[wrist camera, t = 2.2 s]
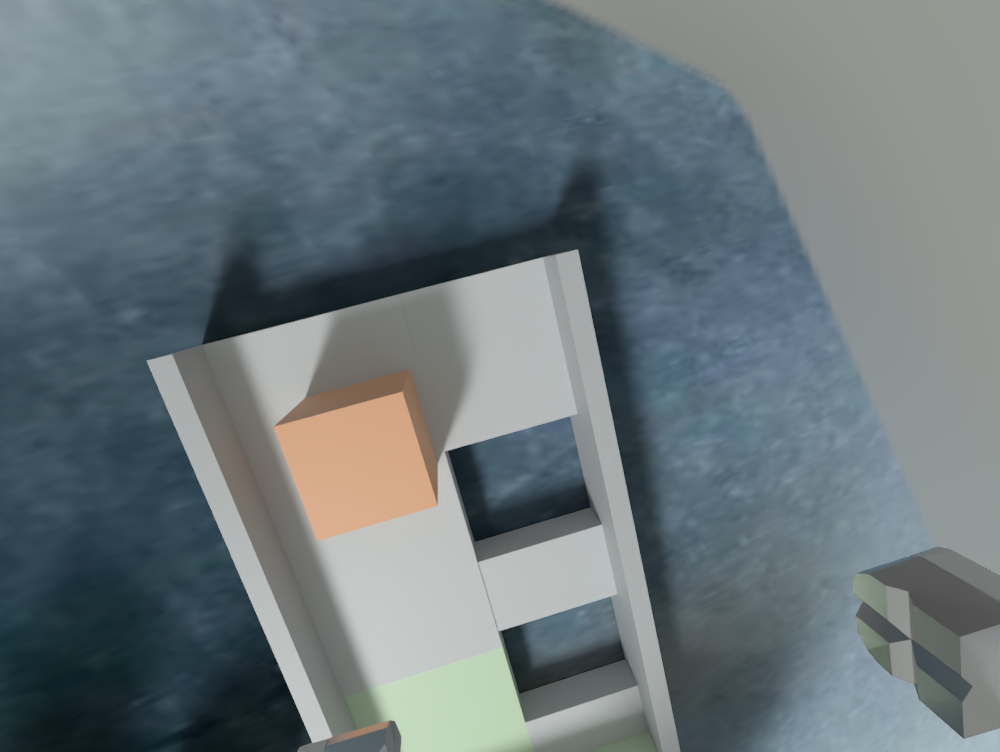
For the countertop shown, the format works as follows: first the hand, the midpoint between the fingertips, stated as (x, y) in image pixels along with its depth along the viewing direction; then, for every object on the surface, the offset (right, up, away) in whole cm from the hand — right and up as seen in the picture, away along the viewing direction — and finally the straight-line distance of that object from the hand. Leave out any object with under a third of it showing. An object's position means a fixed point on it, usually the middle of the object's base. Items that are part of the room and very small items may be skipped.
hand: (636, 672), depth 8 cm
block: (-8, +2, +15) cm, 17 cm away
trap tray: (-5, -5, +19) cm, 20 cm away
